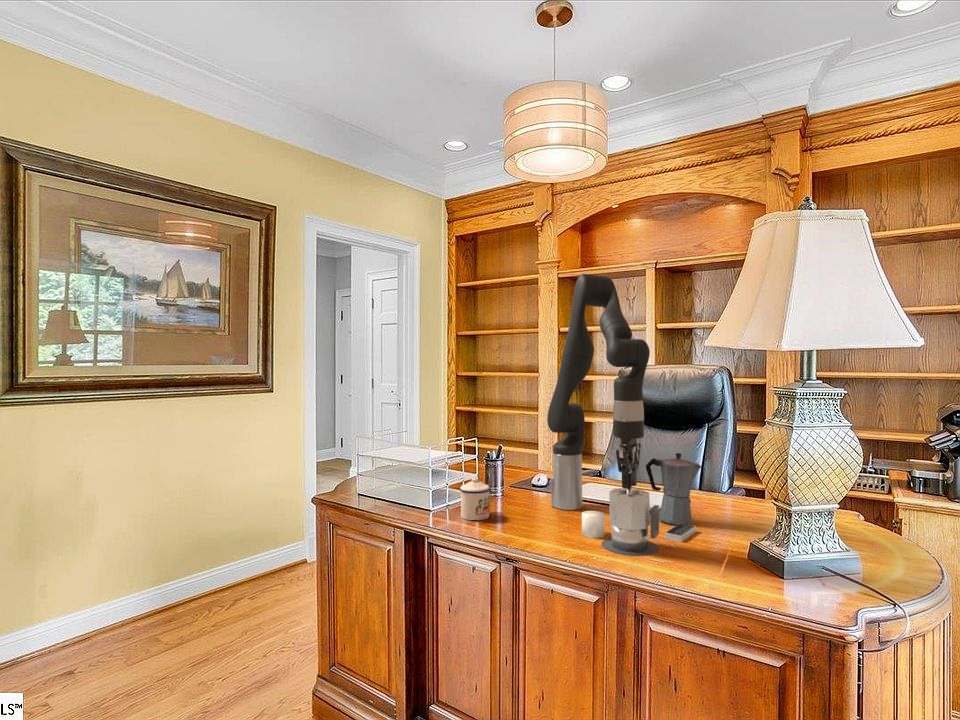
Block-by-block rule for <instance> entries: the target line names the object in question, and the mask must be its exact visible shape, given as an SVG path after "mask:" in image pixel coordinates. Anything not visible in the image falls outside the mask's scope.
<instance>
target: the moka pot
mask: <svg viewBox="0 0 960 720" xmlns="http://www.w3.org/2000/svg"><path fill="white" fill-rule="evenodd" d="M653 465H654V466H657V467H660V469H661V479H662V481H661V483H662V486H663V489H662V491H663V496H662V501H661V505H660V509H659V521H661V522H662V523H663V522H664V523H666V524H670V525H674V526H677V525H678V524H680V523H682V524H688V525H691V524H692V509H691V507H692V506H691V502H692V500H691V497H690V495H691V490H692V488H693V485H694V484H693V483H694V480H695V478H696V477H697V474H698V473H699V471H700V469H702V467H703V466H702V465H701V464H699V463H697V462H692V461H689V460H685V459H682V453H678V452H677V453H675V458H666V459H657V458H651V459H650V460H649V461H648V462H647V464H645V469H646V473H647V476H648V480H649V483H650V485H651V489H652V490H653V491H657V492H660V491H661V487H659V486H656V484H655V480H654V475H653V472H652V467H651V466H653Z"/></svg>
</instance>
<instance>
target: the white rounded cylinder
mask: <svg viewBox="0 0 960 720" xmlns="http://www.w3.org/2000/svg"><path fill="white" fill-rule="evenodd" d="M605 524H606V523H605V513H603V512H602V511H598V510H586V511H582V512H581V536H583V537H584V538H589V539H601V538H604V537H605V536H606V534H605V531H606V530H605V528H606V527H605V526H606V525H605Z"/></svg>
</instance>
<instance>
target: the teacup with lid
mask: <svg viewBox="0 0 960 720" xmlns="http://www.w3.org/2000/svg"><path fill="white" fill-rule="evenodd" d="M459 491H460V518H462V519H463V520H466V521H471V520H478V521H483V520H484V521H485V520H487V519H488V518H489V517H490V498H491V492H490V491H491V488H490V486H489V485H488V484H486V483H483V482H481V481H479V478H478V477H473V478H471V481H469V482H467V483H465V484H462V485H461V486H460V488H459Z"/></svg>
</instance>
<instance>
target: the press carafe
mask: <svg viewBox="0 0 960 720" xmlns="http://www.w3.org/2000/svg"><path fill="white" fill-rule="evenodd" d="M608 494H609V500H608V501H609V524H610V525H611V529H610V531H611V532H610V533H611V535H610V536H611V537H610V538H611V545H612V547H614V548H615V549H618V550H621V551H626V552H642V551H646V550H647V549H648V548H649V543H648V541H649V526H650V539H656V538H657V537H658V536H659V534H660V519H659V515H660V507H659V505H657V504H654V505H653V506H652V507H651V508H650V491H649V492H648V491H646V490H644V489H641V488H633V487H632V495H627V489H626V488H623V487H620V488H613V489H611V490H610V491H609V493H608Z"/></svg>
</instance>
